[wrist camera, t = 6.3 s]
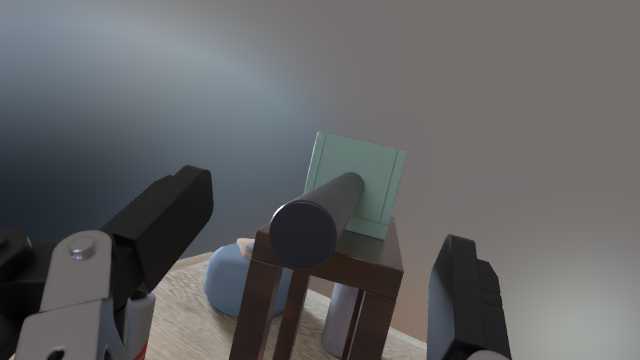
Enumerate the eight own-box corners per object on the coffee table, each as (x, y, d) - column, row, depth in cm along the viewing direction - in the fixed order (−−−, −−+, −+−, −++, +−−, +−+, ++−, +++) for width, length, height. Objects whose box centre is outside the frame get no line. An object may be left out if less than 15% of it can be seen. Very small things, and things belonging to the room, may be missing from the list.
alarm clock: (301, 295, 88) (312, 248, 86) (269, 333, 68) (283, 273, 67) (231, 271, 92) (241, 226, 91) (182, 300, 73) (194, 243, 72)
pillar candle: (345, 328, 77) (361, 261, 75) (380, 355, 70) (399, 282, 68) (310, 337, 70) (328, 264, 69) (345, 368, 63) (366, 287, 62)
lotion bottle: (143, 416, 44) (173, 261, 42) (92, 442, 39) (124, 269, 37) (120, 390, 47) (147, 244, 45) (71, 410, 43) (98, 249, 41)
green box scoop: (174, 310, 10) (217, 94, 9) (321, 199, 35) (336, 137, 34) (388, 379, 9) (451, 147, 8) (383, 215, 34) (399, 152, 33)
